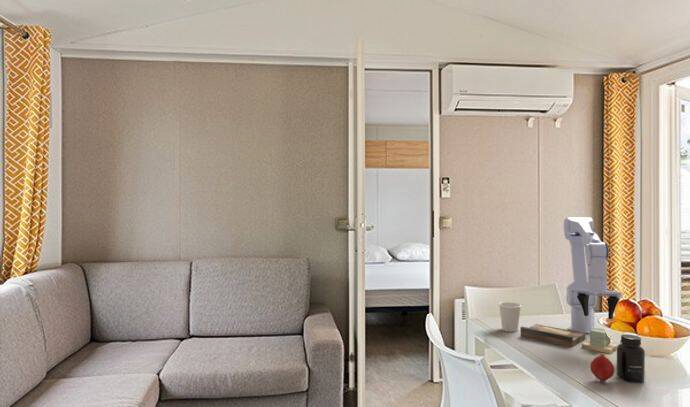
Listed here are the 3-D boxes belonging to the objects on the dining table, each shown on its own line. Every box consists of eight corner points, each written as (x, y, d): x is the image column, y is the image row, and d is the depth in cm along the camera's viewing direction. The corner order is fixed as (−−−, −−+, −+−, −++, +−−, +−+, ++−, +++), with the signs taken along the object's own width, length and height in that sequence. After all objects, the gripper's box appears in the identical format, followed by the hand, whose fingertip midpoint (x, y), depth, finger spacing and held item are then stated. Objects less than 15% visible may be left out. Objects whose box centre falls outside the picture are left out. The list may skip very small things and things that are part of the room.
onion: (586, 378, 132) (586, 350, 132) (605, 377, 132) (605, 349, 132) (599, 386, 126) (598, 357, 126) (618, 385, 126) (618, 356, 126)
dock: (536, 329, 181) (536, 320, 181) (585, 338, 168) (585, 329, 168) (520, 336, 171) (520, 327, 171) (571, 347, 159) (571, 337, 159)
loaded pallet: (590, 342, 165) (590, 324, 165) (618, 348, 158) (618, 329, 158) (581, 348, 159) (581, 329, 158) (610, 354, 152) (610, 334, 152)
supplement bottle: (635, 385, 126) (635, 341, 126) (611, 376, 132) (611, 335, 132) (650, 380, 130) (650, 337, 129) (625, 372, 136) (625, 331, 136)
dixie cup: (498, 331, 178) (497, 305, 178) (499, 326, 186) (499, 301, 186) (521, 333, 175) (521, 307, 175) (521, 328, 183) (521, 302, 183)
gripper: (571, 276, 162) (571, 315, 161) (617, 279, 151) (618, 321, 151) (578, 275, 167) (579, 313, 166) (623, 278, 156) (624, 319, 155)
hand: (598, 317), depth 158 cm, fingers open, 7 cm apart
